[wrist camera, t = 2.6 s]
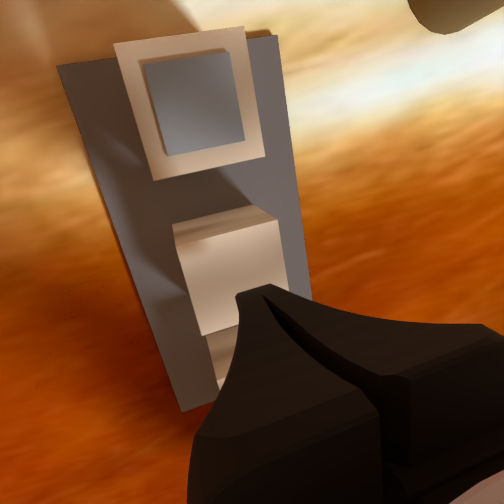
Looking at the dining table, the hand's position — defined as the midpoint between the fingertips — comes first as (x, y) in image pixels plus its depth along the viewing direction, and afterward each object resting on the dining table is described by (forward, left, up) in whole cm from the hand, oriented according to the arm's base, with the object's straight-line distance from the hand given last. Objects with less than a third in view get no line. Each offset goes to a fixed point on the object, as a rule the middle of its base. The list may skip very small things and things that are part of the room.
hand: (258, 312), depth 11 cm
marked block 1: (+6, +4, -7) cm, 10 cm away
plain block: (0, 0, -7) cm, 7 cm away
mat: (0, 0, -8) cm, 8 cm away
